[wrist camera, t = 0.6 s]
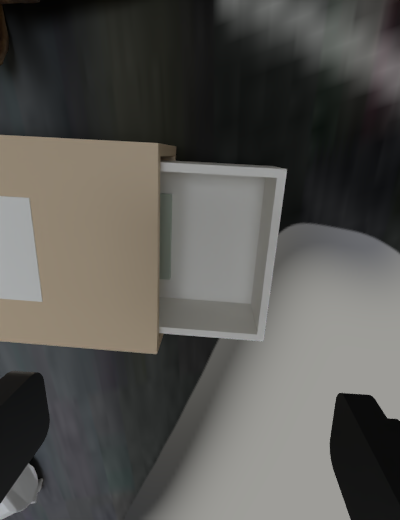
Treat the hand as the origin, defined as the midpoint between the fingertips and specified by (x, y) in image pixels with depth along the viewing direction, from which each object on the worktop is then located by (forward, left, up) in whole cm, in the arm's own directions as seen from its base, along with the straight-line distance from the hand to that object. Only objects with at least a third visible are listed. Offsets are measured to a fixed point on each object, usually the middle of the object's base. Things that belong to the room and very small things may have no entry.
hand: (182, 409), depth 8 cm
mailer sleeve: (+1, -13, -23) cm, 26 cm away
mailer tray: (+1, -4, -22) cm, 22 cm away
